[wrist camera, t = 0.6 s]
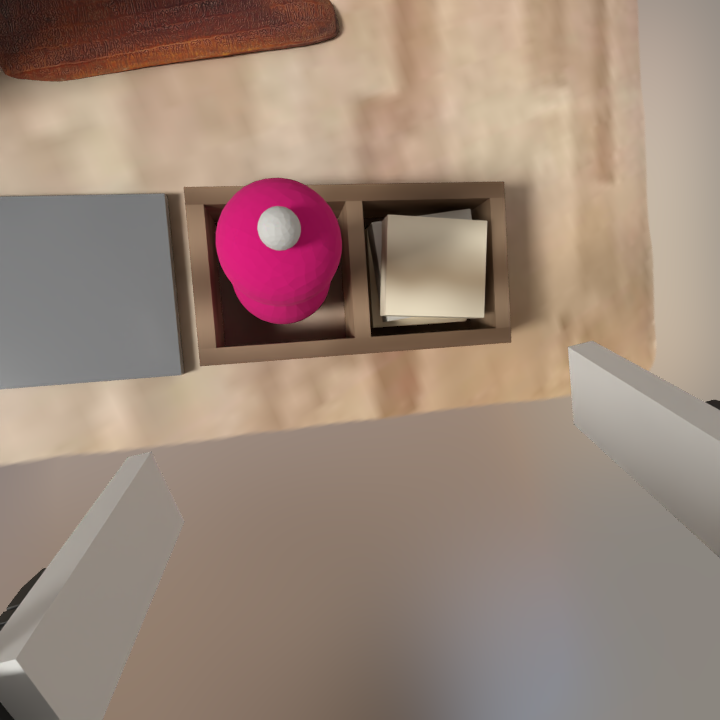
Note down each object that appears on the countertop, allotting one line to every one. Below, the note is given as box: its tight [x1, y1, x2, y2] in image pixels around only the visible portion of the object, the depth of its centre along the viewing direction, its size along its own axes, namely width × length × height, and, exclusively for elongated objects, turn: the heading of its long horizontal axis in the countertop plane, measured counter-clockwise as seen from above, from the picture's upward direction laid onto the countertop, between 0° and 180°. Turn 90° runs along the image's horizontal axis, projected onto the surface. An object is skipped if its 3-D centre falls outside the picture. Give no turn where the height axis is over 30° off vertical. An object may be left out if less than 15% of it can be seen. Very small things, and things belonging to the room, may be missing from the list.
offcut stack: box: [364, 209, 487, 328], centre depth 36 cm, size 9×9×6 cm
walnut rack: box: [184, 182, 511, 366], centre depth 36 cm, size 12×24×5 cm, turn 94°
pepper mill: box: [216, 178, 342, 324], centre depth 28 cm, size 7×7×20 cm
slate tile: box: [0, 194, 184, 389], centre depth 35 cm, size 14×14×1 cm
